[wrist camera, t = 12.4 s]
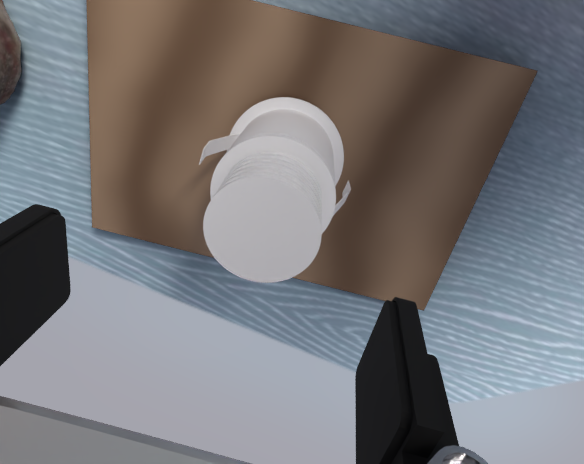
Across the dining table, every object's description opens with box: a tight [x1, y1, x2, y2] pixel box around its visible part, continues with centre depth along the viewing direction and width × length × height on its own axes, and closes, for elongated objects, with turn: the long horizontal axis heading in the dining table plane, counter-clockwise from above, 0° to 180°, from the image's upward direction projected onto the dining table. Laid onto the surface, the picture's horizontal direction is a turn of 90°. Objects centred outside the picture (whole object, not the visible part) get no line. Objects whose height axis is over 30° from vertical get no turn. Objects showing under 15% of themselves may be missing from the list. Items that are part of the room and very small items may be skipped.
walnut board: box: [87, 0, 537, 311], centre depth 25 cm, size 24×16×2 cm, turn 78°
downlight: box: [199, 97, 351, 283], centre depth 20 cm, size 8×7×10 cm
